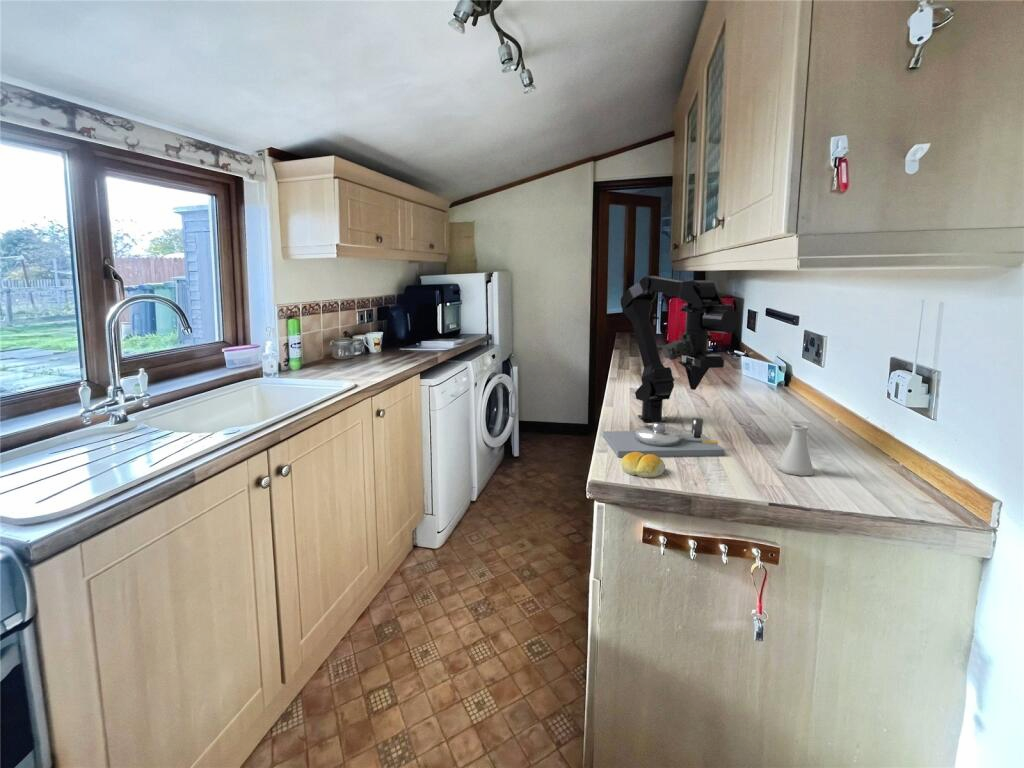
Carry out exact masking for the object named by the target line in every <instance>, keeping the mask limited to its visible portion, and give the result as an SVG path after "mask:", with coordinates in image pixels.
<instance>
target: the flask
mask: <svg viewBox="0 0 1024 768" xmlns="http://www.w3.org/2000/svg"><path fill="white" fill-rule="evenodd" d="M791 429H792V433H791V436H790V440H789V441H788V444H787V446H786V448H785V450H784V452H783V454H782V456H781V457H780V459H779V461H778V462H777V465H776V469H778V470H779V471H781V472H783V474H789V475H795V476H801V477H802V476H803V477H804V476H814V475H815V474H814V468H813V464H812V460H811V457H810V454H809V449H808V445H807V431H809V425H806V424H800V423H799V424H798V423H795V424H794V423H793V424H791Z"/></svg>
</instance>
